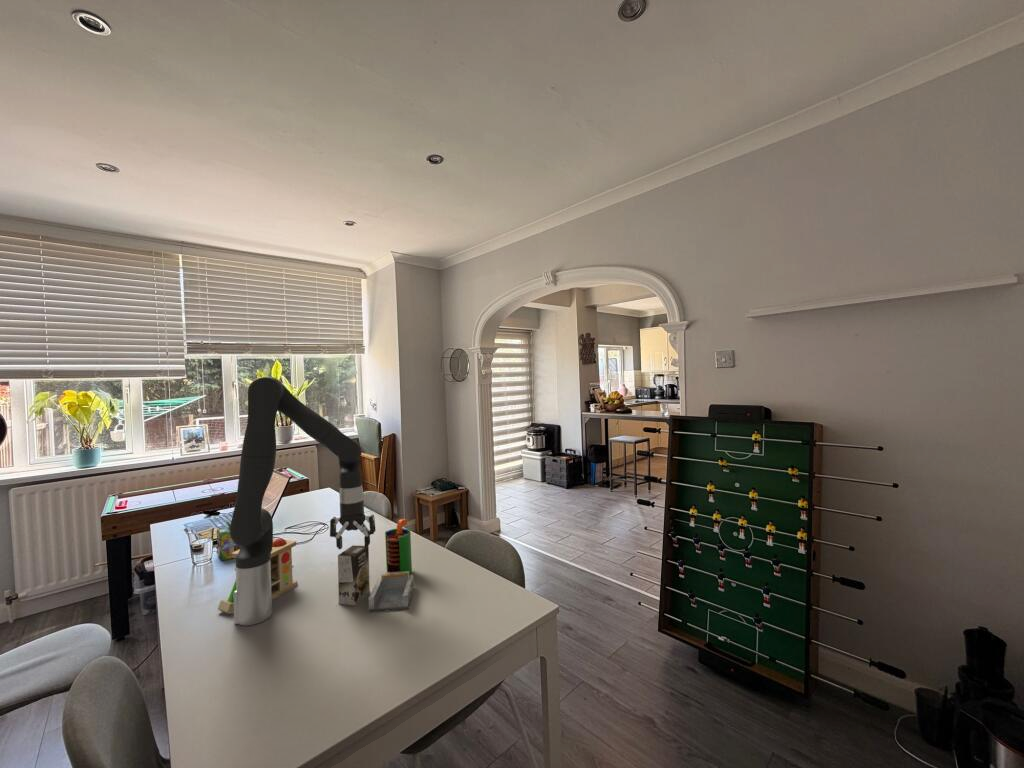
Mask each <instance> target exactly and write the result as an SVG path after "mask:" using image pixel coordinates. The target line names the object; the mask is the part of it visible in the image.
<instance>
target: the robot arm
mask: <svg viewBox="0 0 1024 768" xmlns="http://www.w3.org/2000/svg"><path fill="white" fill-rule="evenodd" d="M278 412H279V413H281V414H283V415H284V416H285V417H287V418H288V419H290V420H291V421H292V422H293V423H294V424H295V425H296V426H297V428H298V427H299V428H300V429H301V430H302V431H303V432H304V433H305V434H306V435H308V436H309V437H310V438H312V439H313V440H314V441H316V442H318V443H319V444H320V445H322V446H324V447H325V448H327V449H328V450H329V451H330V452H332V454H334V455H335V456H336V457H338V465H339V517H336V516H333V517H332V518H331V519H330V521H329V537H331V538H335V540H336V545H335V546H336V548H337V549H338V550H342V549H343V533H344V532H345V531H347V532H349V531H358V530H359V531H360V533H362V534H363V535H364V540H363V541H364V546H365V548H366V547H368V546H370V544H371V535H374V534H375V532H376V531H377V529H376V519H375V514H370V515H365V505H364V503H365V500H364V498H365V495H364V489H363V473H362V469H361V455H362V452H363V451H362V447H361V445H360V444H359V443H358V442H357V440H355V439H352V438H350V437H349V436H347V434H344V433H343V432H341V431H340V429H339V428H338V427H336V426H335V425H334V424H333V423H331V422H330V421H329V420H327V419H326V418H324V417H322V416H321V415H320V414H318V413H317V412H315V411H314V410H313V409H311V408H310V407H308V406H307V405H306V404H304V403H303V402H301V400H299V399H298V398H297V397H296V396H295V395H293V394H292V393H291V392H290V390H288V389H287V388H286V386H285V385H284V384H283V383H282V381H281V380H279V379H278V378H276V377H273V376H268V375H267V376H260V377H257V378H255V379H254V380H253V381H252V382H251V383H249V385H248V389H247V422H246V423H247V424H246V427H245V433H244V437H243V442H242V448H241V455H240V463H239V473H238V480H237V489H236V490H237V492H236V499H235V505H234V508H233V513H232V517H231V521H230V536H231V539H232V540H233V542H234V543H236V544H237V545H239V546H241V548H240V551H239V553H238V555H237V556H236V558H235V569H236V571H235V581H236V591H235V592H234V593H233V600H234V613H233V624H234V625H236V624H237V625H240V626H243V627H244V626H247V627H248V626H252V625H253V626H254V625H256V624H260V623H263V622H264V621H266V620H267V619H269V618H270V617H271V616H272V614H273V605H272V604H273V600H272V593H271V562H270V554H271V550H272V546H273V539H274V524H273V522H274V521H273V518H272V515H271V513H270V512H269V511H268V510H267V509H264V508H262V507H263V501H264V496H265V493H266V492H267V489H268V487H269V484H270V481H271V480H272V477H273V474H274V470H275V467H276V466H275V464H276V458H277V436H276V435H277V434H276V420H277V413H278ZM365 521H366V522H367V523H369V524H368V525H369V529H368V526H367V525H366V524H365ZM338 524H340V525H341V528H340V529H339V531H338V532H337V525H338Z"/></svg>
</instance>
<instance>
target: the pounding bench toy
mask: <svg viewBox="0 0 1024 768" xmlns="http://www.w3.org/2000/svg"><path fill="white" fill-rule="evenodd" d="M296 546H297V541H296V540H288V539H287V540H286V539H284V538H273V546H272V550H271V554H270V562H271V593H272V601H273V600H275V599H276V598H278V597H280V596H282V595H284V594H285V593H286V592H288V591H290V590H291V589H293V588H295V587H296V586H297V585H298V580H296V579H293V568H294V565H293V554H292V553H293V552H292V548H294V547H296ZM239 551H240V550H237V551H235V552H233V553H232V558H231V559H236V556H237V555H238V553H239ZM234 571H235V572H236V568H234ZM235 591H236V580H235V581H234V583H233V586H232V588H231V592H230V594H229V596H228V600H227V599H226V600H225V599H223V600H220V602H219V604H218V607H217V610H218V611H220V612H223V613H226V614H230V615H234V600H233V593H234V592H235Z"/></svg>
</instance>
